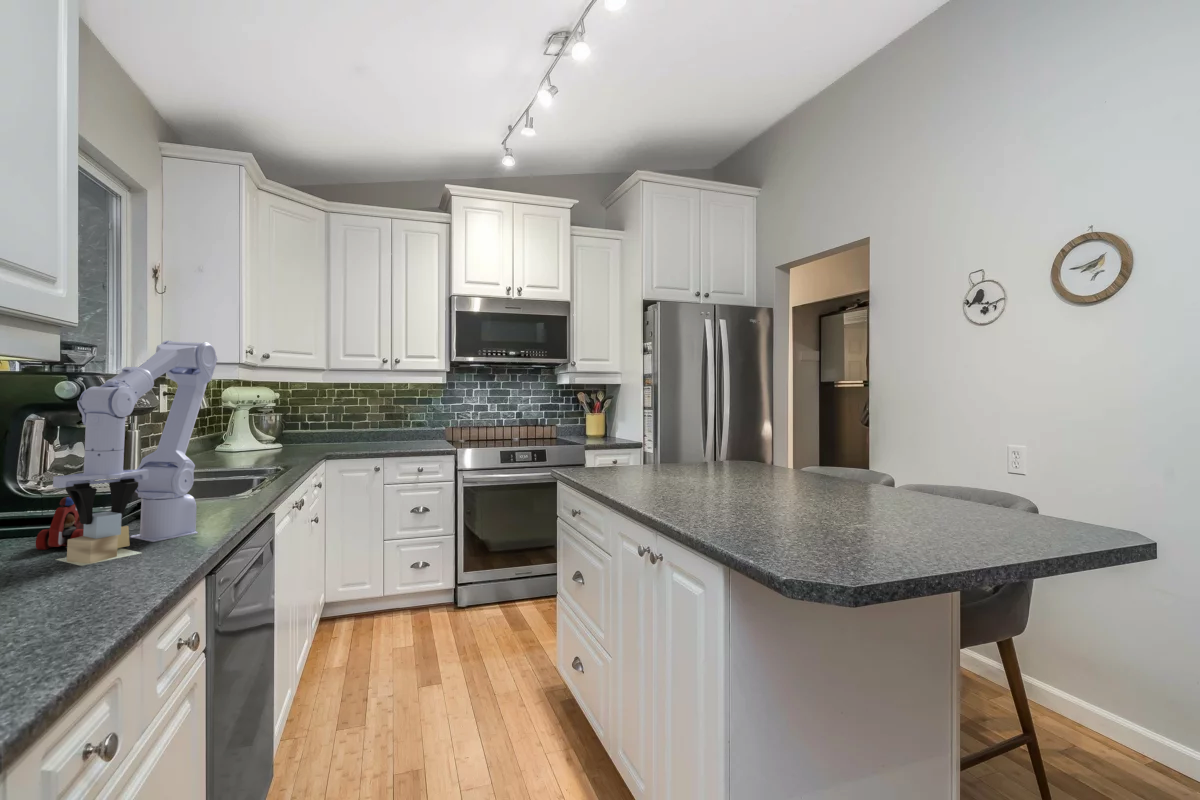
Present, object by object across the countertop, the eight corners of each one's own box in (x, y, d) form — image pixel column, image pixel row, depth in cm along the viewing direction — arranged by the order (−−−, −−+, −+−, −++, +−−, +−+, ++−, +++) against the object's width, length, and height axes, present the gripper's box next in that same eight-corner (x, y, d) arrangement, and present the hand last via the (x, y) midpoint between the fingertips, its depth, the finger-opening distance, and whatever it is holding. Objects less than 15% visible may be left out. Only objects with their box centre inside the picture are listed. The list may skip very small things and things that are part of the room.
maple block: (94, 554, 111) (95, 533, 111) (116, 556, 110) (117, 535, 110) (66, 561, 106) (67, 539, 106) (90, 563, 105) (91, 541, 105)
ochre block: (112, 547, 117) (110, 527, 118) (129, 545, 117) (128, 525, 117) (92, 551, 113) (91, 531, 114) (110, 549, 113) (109, 529, 113)
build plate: (117, 549, 116) (117, 547, 116) (142, 554, 113) (142, 552, 113) (55, 561, 107) (55, 559, 107) (81, 567, 104) (81, 565, 104)
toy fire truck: (28, 555, 110) (30, 500, 110) (65, 539, 122) (67, 490, 122) (73, 554, 112) (75, 500, 112) (105, 538, 124) (107, 490, 124)
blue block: (108, 531, 112) (108, 511, 112) (120, 534, 111) (121, 513, 111) (83, 536, 109) (84, 514, 109) (96, 538, 107) (97, 517, 107)
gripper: (70, 454, 102) (67, 531, 102) (159, 448, 115) (156, 517, 115) (47, 451, 104) (44, 526, 104) (136, 446, 118) (134, 513, 118)
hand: (101, 521), depth 110 cm, fingers open, 4 cm apart
